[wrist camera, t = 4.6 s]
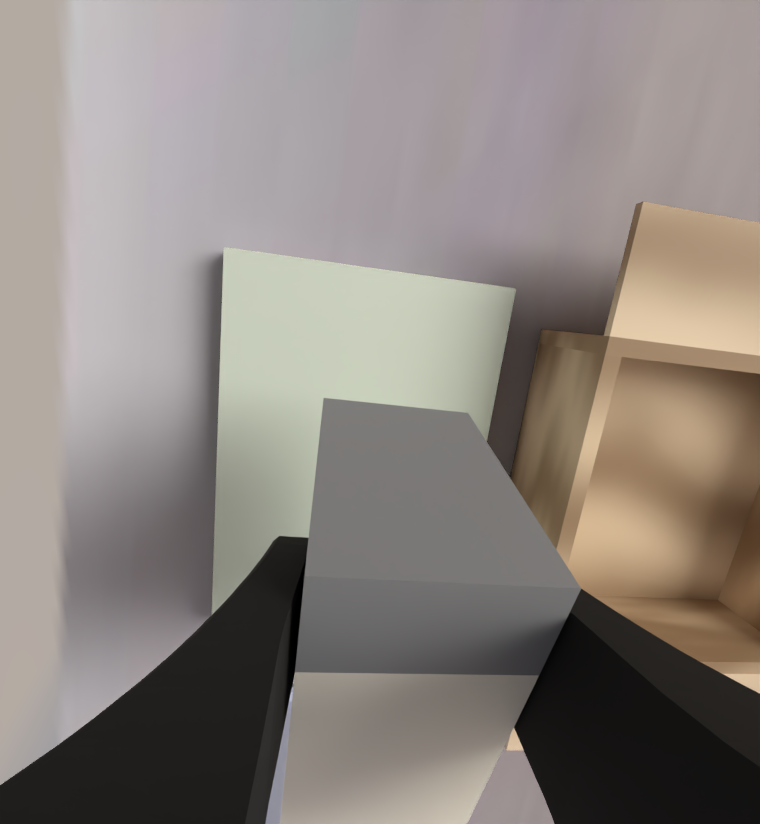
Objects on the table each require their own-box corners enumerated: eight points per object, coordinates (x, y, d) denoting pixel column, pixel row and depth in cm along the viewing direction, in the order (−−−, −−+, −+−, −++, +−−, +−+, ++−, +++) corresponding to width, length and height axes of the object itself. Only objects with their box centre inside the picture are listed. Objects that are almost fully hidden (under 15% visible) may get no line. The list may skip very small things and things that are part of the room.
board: (444, 618, 21) (449, 633, 20) (217, 612, 19) (211, 628, 18) (505, 289, 17) (516, 288, 16) (230, 250, 15) (223, 247, 15)
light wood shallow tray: (693, 663, 23) (776, 745, 19) (471, 661, 21) (506, 750, 17) (834, 274, 18) (989, 264, 14) (562, 229, 17) (643, 201, 12)
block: (415, 613, 15) (457, 843, 9) (302, 609, 14) (277, 851, 9) (468, 412, 11) (581, 588, 6) (323, 397, 11) (304, 576, 5)
